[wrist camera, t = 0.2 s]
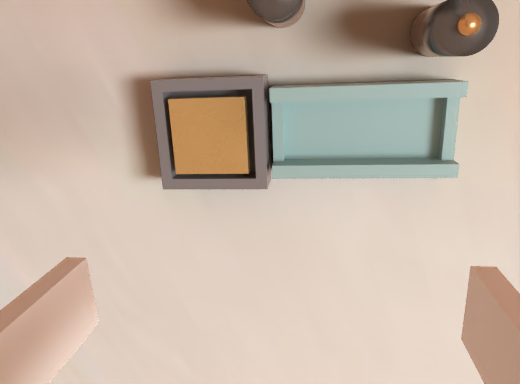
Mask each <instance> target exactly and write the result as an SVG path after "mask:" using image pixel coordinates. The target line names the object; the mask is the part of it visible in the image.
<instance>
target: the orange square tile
mask: <svg viewBox="0 0 520 384" xmlns="http://www.w3.org/2000/svg"><path fill="white" fill-rule="evenodd" d="M168 104H169V113H170V123H171V132H172V141H173V151H174V160H175V169H176V174H249V172H250V157H249V137H248V117H247V97H246V96H223V97H192V98H170V99H168Z"/></svg>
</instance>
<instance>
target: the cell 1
mask: <svg viewBox="0 0 520 384" xmlns="http://www.w3.org/2000/svg"><path fill="white" fill-rule="evenodd" d="M247 2H248V4H249V6H250V7H251V9H252V10H253V11H254V12H255V13H256V14H257V15H259V16H260V17H261V18H263V19H264V20H265V21H267V22H268V23H269V24H271V25H273V26H275V27H280V28H283V27H288V26H291V25H293V24H294V23H295V22H297V21H298V20H299V18H300V17H301V15H302V13H303V11H304V7H305V0H247Z"/></svg>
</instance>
